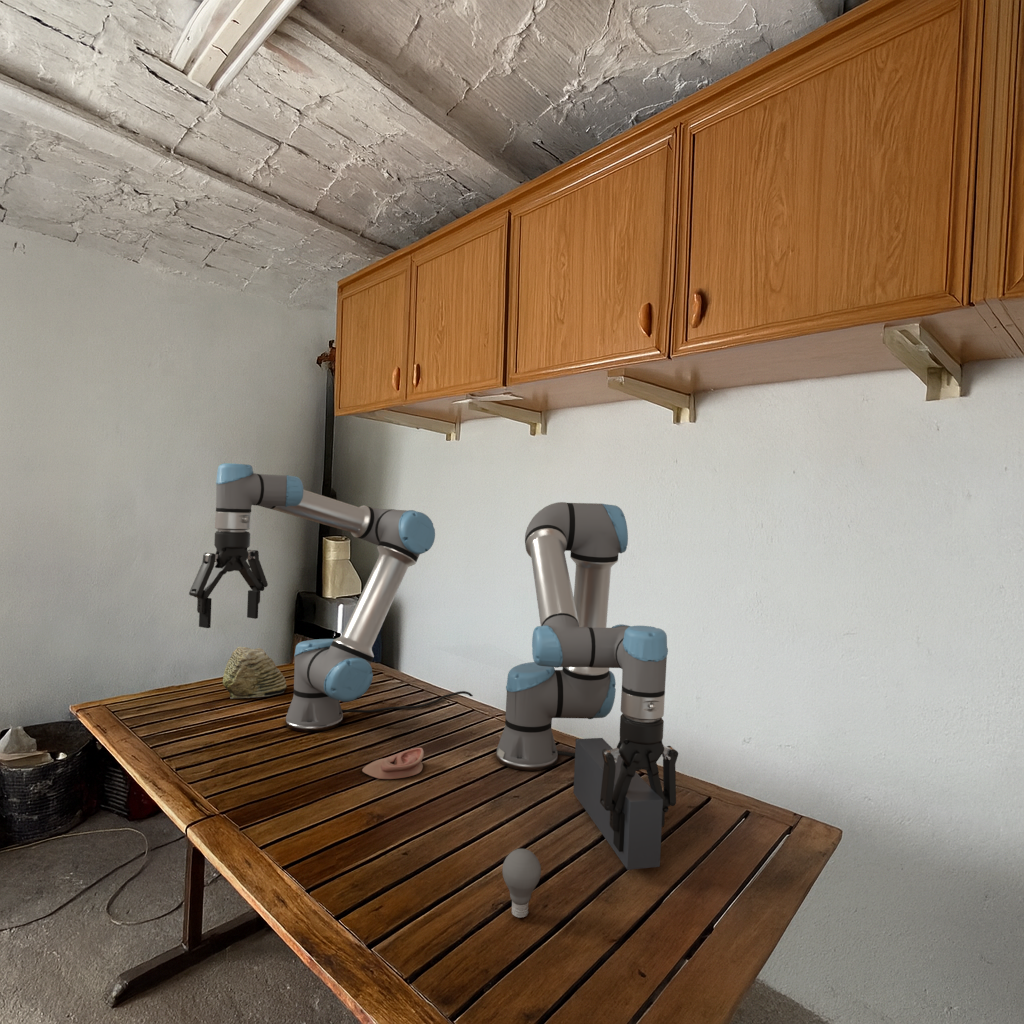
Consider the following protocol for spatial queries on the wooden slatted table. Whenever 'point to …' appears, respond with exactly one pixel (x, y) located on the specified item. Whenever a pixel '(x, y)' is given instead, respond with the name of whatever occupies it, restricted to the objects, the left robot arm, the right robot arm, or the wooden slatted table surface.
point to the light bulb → (521, 878)
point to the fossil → (252, 674)
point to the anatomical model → (397, 765)
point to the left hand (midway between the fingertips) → (229, 622)
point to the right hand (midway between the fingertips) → (636, 845)
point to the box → (637, 806)
